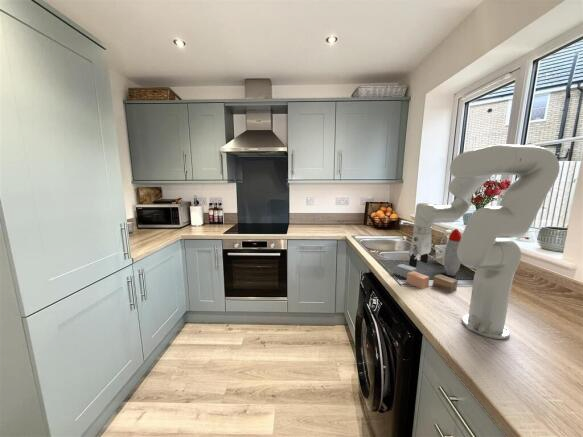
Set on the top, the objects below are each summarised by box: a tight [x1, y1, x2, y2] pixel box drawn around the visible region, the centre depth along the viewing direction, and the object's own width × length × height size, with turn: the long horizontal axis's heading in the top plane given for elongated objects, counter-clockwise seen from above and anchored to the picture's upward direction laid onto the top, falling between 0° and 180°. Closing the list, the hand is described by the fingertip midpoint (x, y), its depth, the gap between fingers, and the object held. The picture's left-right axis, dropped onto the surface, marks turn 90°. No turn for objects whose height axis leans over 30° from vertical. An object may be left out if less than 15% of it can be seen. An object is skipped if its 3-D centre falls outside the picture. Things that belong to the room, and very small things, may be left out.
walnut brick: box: [432, 274, 459, 293], centre depth 110 cm, size 5×8×5 cm, turn 31°
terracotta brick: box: [406, 271, 430, 290], centre depth 113 cm, size 5×8×5 cm, turn 29°
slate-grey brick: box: [395, 263, 417, 279], centre depth 123 cm, size 5×8×5 cm, turn 36°
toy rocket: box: [443, 228, 462, 277], centre depth 124 cm, size 8×8×25 cm
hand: (418, 264), depth 113 cm, fingers open, 9 cm apart
